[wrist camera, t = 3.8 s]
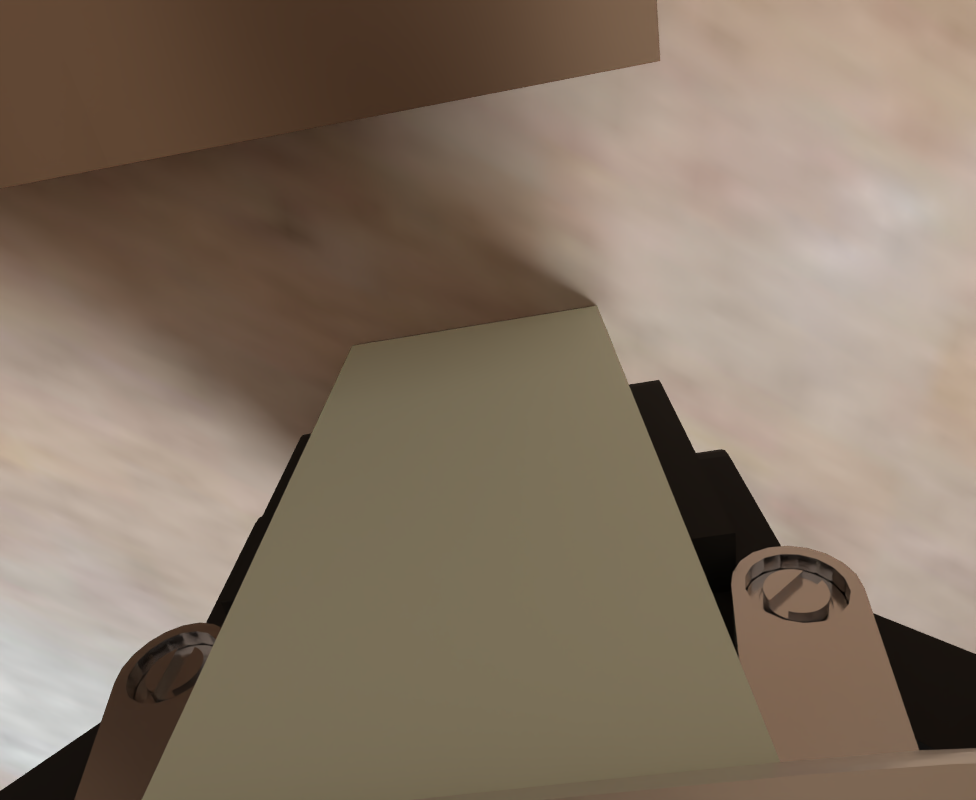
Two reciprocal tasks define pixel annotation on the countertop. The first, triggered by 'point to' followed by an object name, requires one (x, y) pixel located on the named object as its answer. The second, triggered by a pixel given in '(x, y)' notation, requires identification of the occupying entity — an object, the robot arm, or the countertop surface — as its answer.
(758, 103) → the countertop surface
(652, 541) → the peg
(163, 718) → the robot arm
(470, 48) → the stand
